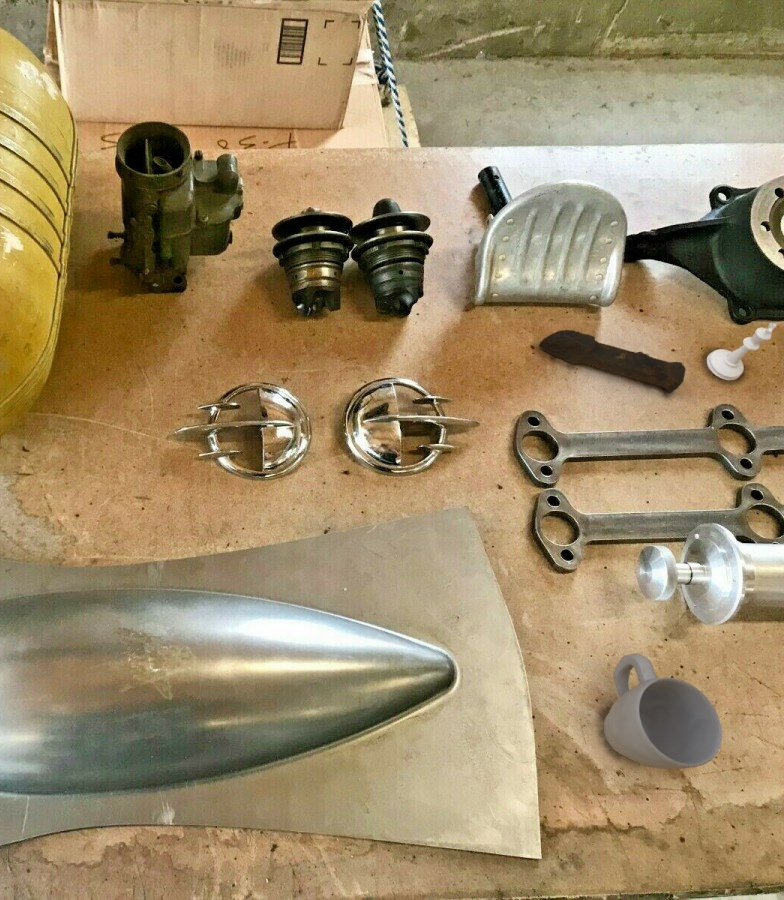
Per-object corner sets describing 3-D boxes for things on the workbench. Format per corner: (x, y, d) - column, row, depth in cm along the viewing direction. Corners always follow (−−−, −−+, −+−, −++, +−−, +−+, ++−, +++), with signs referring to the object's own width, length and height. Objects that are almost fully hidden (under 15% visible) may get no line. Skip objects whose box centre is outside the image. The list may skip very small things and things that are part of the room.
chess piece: (744, 362, 113) (797, 321, 105) (735, 386, 111) (788, 346, 103) (711, 345, 114) (761, 303, 106) (702, 369, 112) (751, 328, 104)
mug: (679, 767, 87) (739, 759, 79) (606, 781, 86) (659, 773, 78) (634, 659, 93) (686, 640, 84) (565, 671, 92) (611, 652, 83)
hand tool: (670, 375, 112) (691, 356, 108) (669, 397, 110) (690, 380, 106) (539, 333, 114) (555, 313, 109) (535, 354, 112) (551, 335, 108)
